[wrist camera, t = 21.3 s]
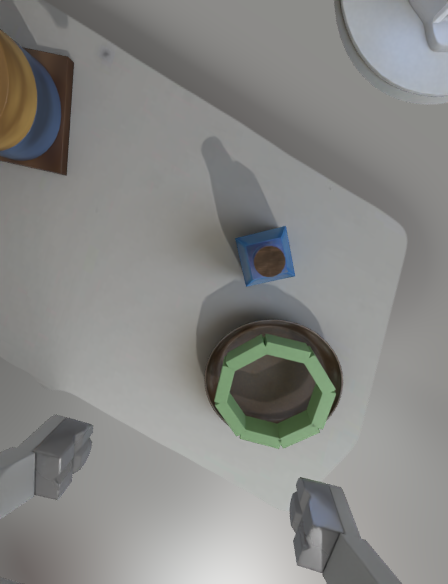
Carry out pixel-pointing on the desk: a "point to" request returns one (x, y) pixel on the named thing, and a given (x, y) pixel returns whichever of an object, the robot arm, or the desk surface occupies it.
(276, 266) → the perfume bottle
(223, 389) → the ring
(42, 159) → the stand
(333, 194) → the desk surface
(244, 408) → the plant saucer
